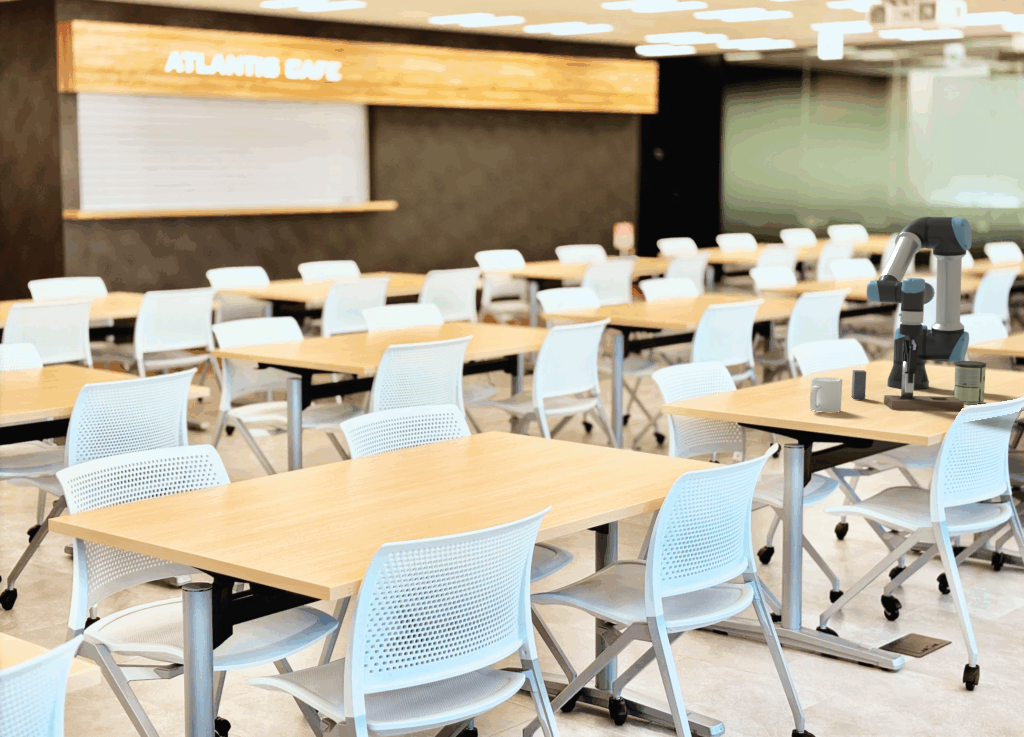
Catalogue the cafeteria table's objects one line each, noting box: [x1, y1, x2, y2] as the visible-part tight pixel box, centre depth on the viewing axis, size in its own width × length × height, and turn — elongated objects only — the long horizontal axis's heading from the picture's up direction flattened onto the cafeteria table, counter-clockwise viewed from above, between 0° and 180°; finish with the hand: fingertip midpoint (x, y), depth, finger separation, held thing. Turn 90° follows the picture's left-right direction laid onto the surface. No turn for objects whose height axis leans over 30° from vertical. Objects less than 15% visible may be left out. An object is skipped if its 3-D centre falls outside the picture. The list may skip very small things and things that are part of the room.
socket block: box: [883, 394, 965, 412], centre depth 454 cm, size 12×24×3 cm, turn 86°
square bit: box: [851, 369, 867, 400], centre depth 471 cm, size 4×4×10 cm
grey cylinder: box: [900, 361, 914, 400], centre depth 453 cm, size 4×4×13 cm
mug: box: [809, 376, 843, 412], centre depth 443 cm, size 14×10×11 cm
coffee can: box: [953, 360, 987, 405], centre depth 466 cm, size 10×10×14 cm
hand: (907, 391), depth 454 cm, fingers closed on grey cylinder, 4 cm apart
